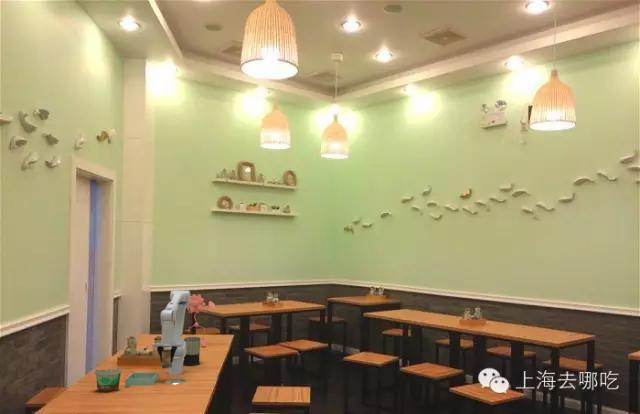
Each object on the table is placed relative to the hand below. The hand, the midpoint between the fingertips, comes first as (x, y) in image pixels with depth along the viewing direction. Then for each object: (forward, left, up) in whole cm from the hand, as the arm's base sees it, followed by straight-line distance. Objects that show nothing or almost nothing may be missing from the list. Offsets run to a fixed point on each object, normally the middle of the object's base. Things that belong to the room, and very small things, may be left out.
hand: (166, 362), depth 279 cm
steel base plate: (0, +5, -10) cm, 11 cm away
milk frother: (-41, +3, -11) cm, 42 cm away
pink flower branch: (-92, +2, -11) cm, 93 cm away
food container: (+13, -24, -11) cm, 30 cm away
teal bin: (0, -11, -10) cm, 16 cm away
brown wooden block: (0, 0, -2) cm, 2 cm away
